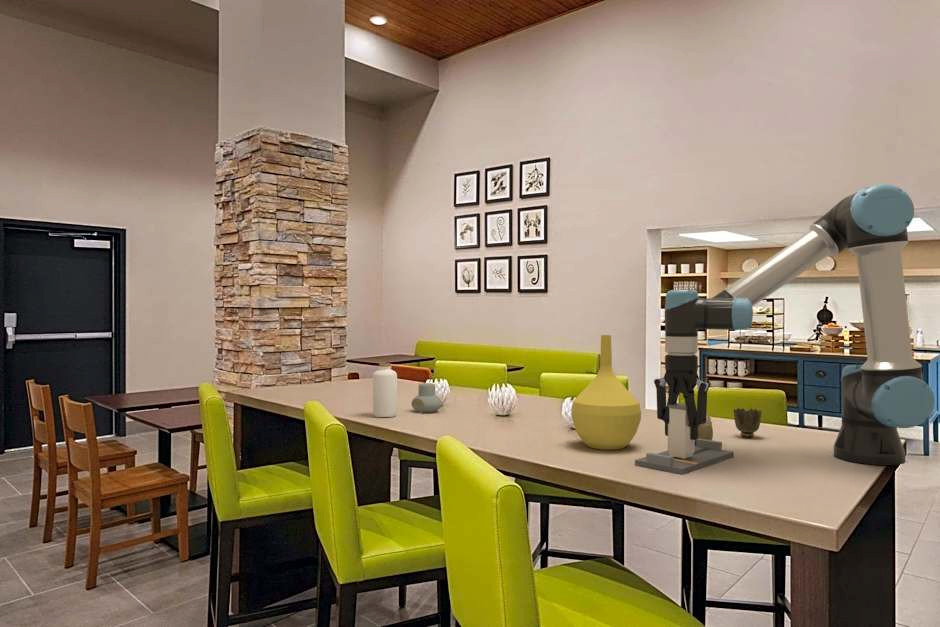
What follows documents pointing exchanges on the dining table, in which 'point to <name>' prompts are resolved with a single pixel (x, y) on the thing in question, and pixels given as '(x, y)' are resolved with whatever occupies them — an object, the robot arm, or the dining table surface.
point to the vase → (606, 408)
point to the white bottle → (384, 391)
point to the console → (702, 457)
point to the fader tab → (678, 430)
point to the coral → (705, 429)
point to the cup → (747, 421)
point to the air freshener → (426, 399)
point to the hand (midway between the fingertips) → (681, 451)
